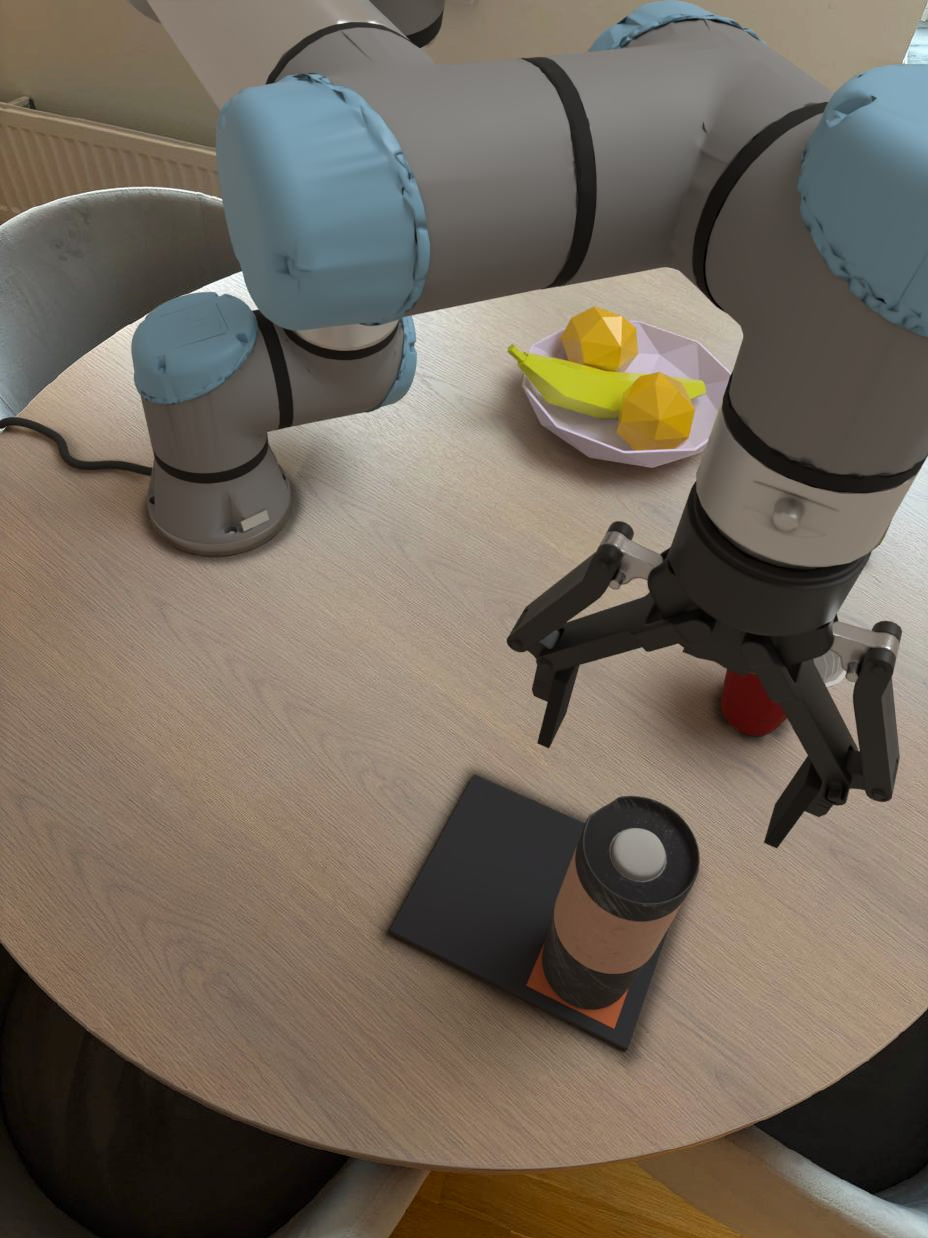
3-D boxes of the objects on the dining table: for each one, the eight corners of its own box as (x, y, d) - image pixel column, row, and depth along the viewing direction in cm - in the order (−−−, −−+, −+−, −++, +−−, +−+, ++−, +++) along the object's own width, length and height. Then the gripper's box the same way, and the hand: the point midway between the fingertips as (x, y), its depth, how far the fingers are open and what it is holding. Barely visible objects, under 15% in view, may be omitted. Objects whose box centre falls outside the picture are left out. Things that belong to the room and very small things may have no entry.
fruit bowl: (724, 373, 127) (749, 297, 119) (724, 510, 110) (754, 433, 101) (518, 340, 129) (528, 263, 120) (486, 469, 112) (496, 390, 103)
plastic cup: (786, 781, 87) (835, 706, 78) (679, 724, 90) (713, 646, 81) (823, 700, 93) (872, 623, 84) (721, 650, 96) (757, 570, 87)
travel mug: (630, 1024, 71) (700, 920, 56) (531, 1001, 72) (572, 891, 57) (639, 928, 76) (704, 807, 61) (545, 907, 77) (587, 782, 62)
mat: (389, 933, 75) (389, 930, 75) (473, 777, 85) (474, 773, 84) (626, 1051, 71) (628, 1049, 70) (686, 872, 80) (688, 869, 80)
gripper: (464, 458, 39) (437, 738, 55) (1108, 699, 33) (865, 930, 49) (535, 363, 43) (490, 647, 59) (1112, 561, 38) (888, 814, 54)
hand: (660, 776), depth 55 cm, fingers open, 13 cm apart
